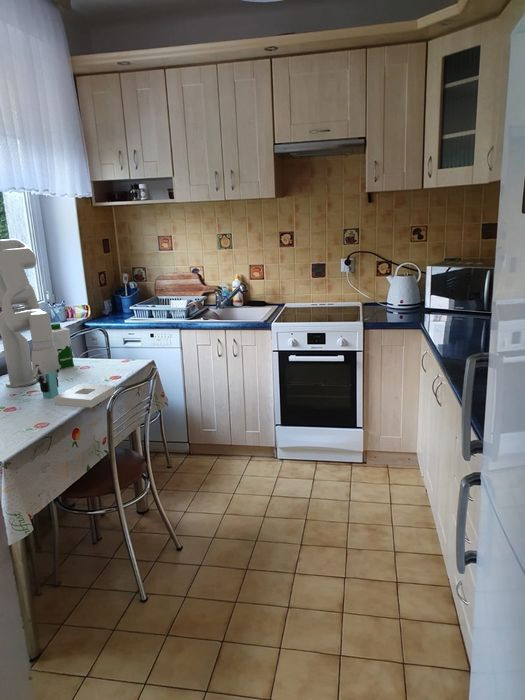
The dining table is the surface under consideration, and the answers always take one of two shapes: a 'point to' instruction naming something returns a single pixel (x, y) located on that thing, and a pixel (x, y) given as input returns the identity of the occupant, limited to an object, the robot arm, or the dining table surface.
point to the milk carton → (62, 345)
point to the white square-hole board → (84, 395)
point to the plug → (51, 385)
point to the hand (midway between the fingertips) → (49, 388)
